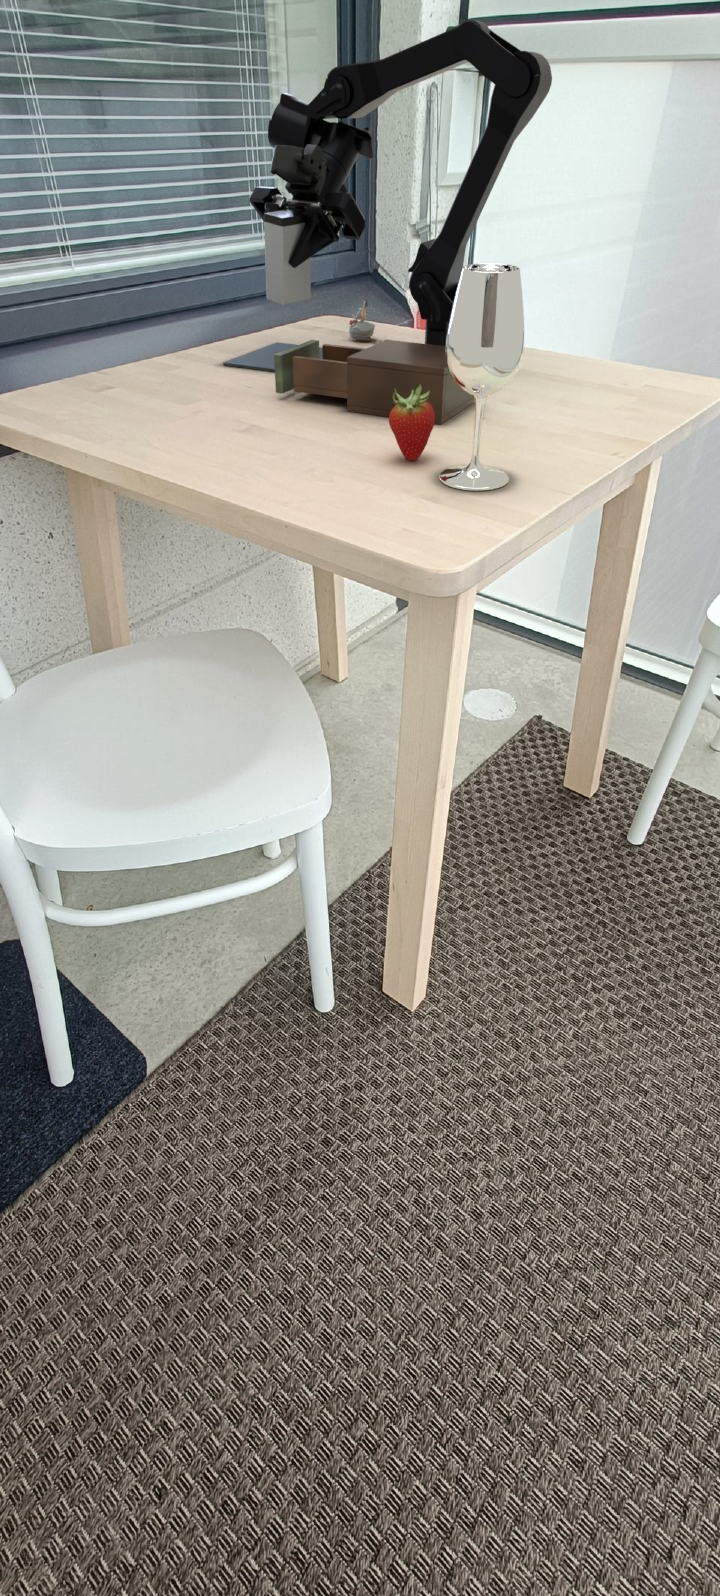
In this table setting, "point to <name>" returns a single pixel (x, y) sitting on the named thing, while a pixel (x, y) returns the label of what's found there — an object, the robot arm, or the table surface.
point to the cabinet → (403, 379)
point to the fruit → (412, 423)
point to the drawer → (313, 369)
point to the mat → (262, 357)
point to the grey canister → (285, 258)
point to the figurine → (361, 326)
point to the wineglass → (484, 353)
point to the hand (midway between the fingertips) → (280, 264)
